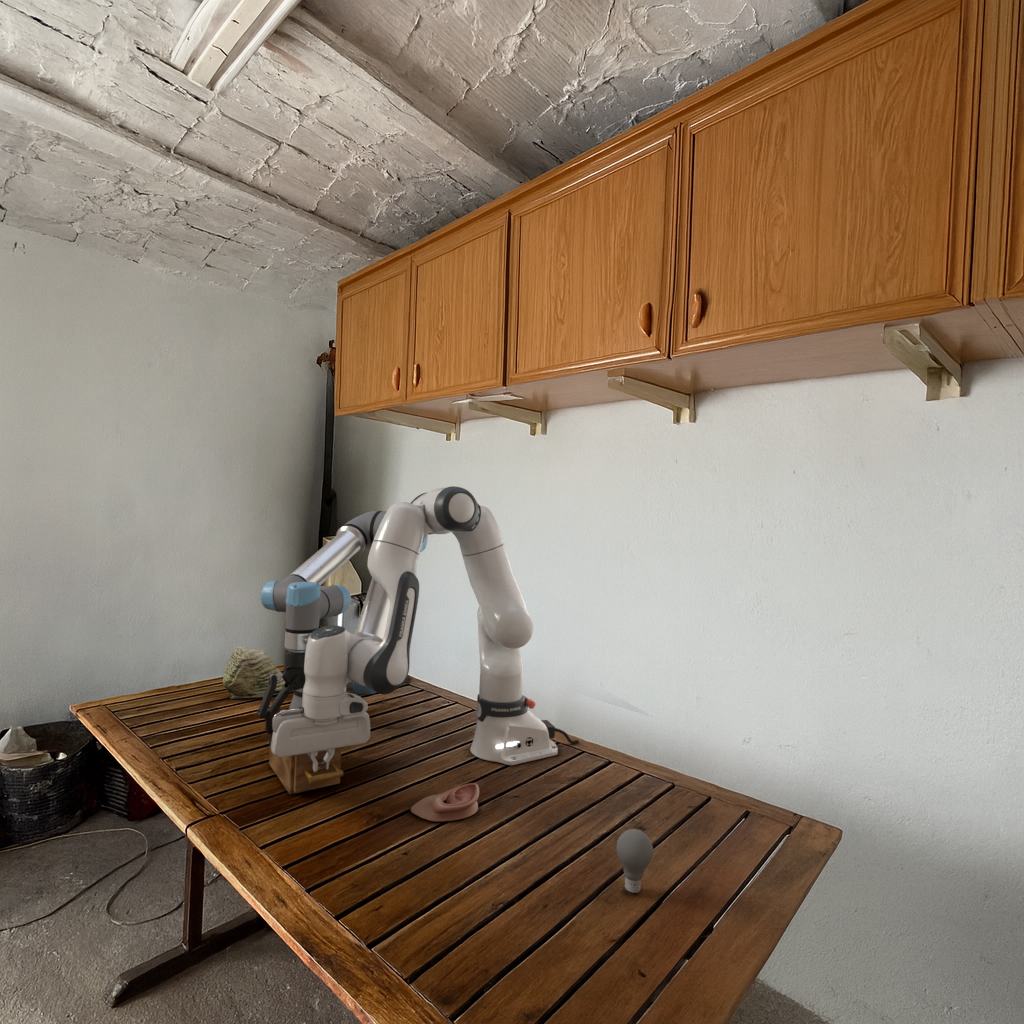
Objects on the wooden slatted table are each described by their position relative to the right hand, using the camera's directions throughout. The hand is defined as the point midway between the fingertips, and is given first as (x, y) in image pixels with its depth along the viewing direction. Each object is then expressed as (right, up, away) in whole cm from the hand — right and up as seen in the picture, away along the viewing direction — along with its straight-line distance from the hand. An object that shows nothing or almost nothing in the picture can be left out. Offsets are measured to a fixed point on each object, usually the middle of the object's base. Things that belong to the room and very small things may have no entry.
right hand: (320, 769), depth 133 cm
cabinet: (-7, -5, +11) cm, 14 cm away
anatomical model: (+27, -7, -3) cm, 28 cm away
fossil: (-40, -3, +65) cm, 76 cm away
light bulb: (+61, -9, -28) cm, 67 cm away
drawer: (-4, -5, +7) cm, 9 cm away
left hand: (-10, 0, +15) cm, 18 cm away
